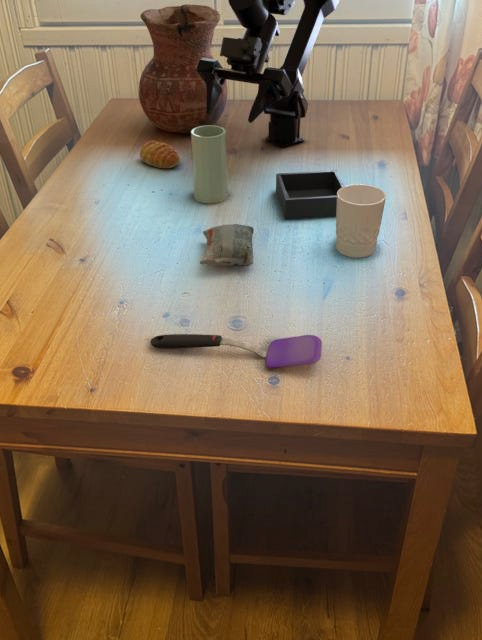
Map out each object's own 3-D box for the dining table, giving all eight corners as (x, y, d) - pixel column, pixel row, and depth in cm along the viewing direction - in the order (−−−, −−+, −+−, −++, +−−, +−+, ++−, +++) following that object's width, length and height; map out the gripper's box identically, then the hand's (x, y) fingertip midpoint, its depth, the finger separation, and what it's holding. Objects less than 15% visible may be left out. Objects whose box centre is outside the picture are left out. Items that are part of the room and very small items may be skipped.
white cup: (382, 241, 120) (389, 187, 114) (374, 263, 114) (381, 207, 108) (337, 234, 122) (342, 181, 116) (327, 256, 116) (332, 201, 110)
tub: (275, 192, 136) (276, 173, 134) (334, 189, 137) (336, 170, 134) (284, 220, 127) (285, 200, 125) (348, 216, 128) (350, 196, 125)
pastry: (188, 164, 148) (187, 146, 146) (164, 173, 145) (163, 156, 142) (160, 152, 154) (158, 136, 151) (136, 161, 150) (134, 144, 148)
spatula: (145, 359, 95) (143, 345, 94) (157, 330, 100) (156, 316, 99) (318, 376, 92) (320, 362, 90) (322, 346, 97) (323, 331, 95)
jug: (227, 140, 159) (225, 22, 143) (137, 141, 159) (125, 24, 144) (228, 108, 176) (226, 0, 161) (146, 109, 177) (137, 1, 161)
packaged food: (200, 275, 112) (199, 249, 109) (203, 240, 121) (203, 215, 118) (253, 276, 112) (254, 249, 109) (253, 241, 121) (253, 215, 118)
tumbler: (215, 186, 139) (213, 122, 131) (233, 198, 135) (232, 132, 127) (188, 194, 136) (184, 129, 128) (205, 206, 132) (202, 140, 124)
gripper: (198, 12, 129) (169, 89, 129) (287, 22, 122) (257, 103, 121) (220, 47, 140) (193, 118, 139) (303, 58, 132) (276, 133, 131)
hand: (228, 118), depth 132 cm, fingers open, 9 cm apart
